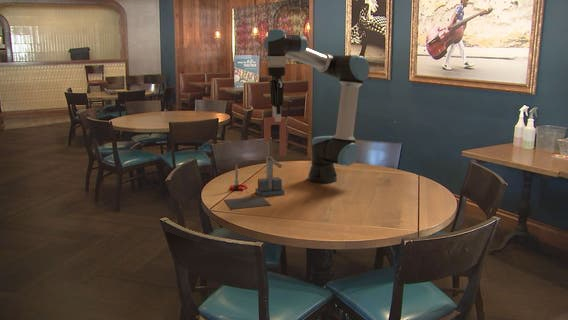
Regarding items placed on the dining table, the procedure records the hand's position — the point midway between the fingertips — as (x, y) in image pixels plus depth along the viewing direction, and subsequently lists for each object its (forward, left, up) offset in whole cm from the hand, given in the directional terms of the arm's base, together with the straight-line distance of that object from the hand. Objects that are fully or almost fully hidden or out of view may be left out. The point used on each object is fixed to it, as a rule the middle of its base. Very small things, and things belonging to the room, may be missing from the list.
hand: (276, 120), depth 215 cm
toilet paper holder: (0, -6, -36) cm, 37 cm away
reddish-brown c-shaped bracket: (+1, 0, -15) cm, 16 cm away
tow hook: (+12, -25, -37) cm, 46 cm away
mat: (+14, 0, -36) cm, 39 cm away
